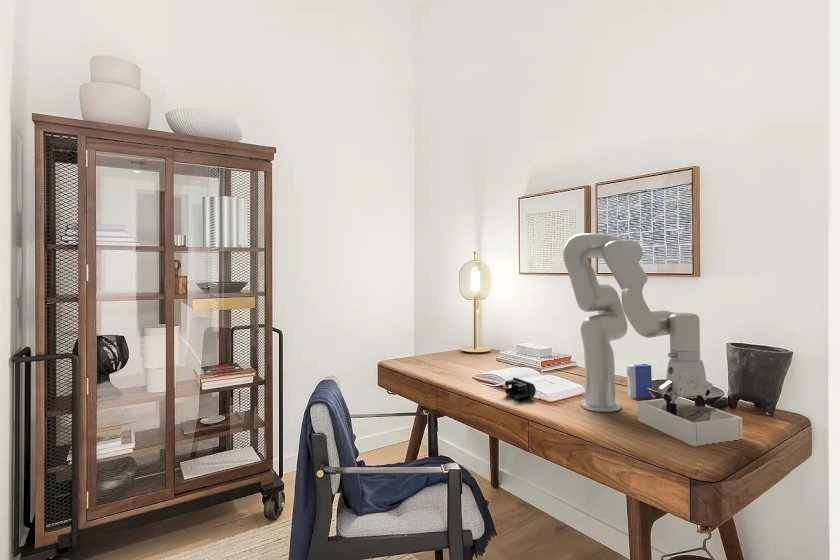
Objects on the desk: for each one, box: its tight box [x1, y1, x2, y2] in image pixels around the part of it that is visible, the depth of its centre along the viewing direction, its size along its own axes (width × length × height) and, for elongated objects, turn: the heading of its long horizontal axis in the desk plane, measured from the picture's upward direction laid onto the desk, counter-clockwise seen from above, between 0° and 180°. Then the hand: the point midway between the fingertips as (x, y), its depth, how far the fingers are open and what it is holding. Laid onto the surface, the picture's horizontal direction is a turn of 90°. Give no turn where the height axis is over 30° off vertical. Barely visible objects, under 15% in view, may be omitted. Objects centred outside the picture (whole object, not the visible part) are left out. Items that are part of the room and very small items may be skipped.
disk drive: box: [705, 396, 729, 409], centre depth 155 cm, size 10×3×15 cm
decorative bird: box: [661, 402, 717, 423], centre depth 131 cm, size 5×16×8 cm, turn 27°
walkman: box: [626, 363, 653, 399], centre depth 166 cm, size 8×3×12 cm, turn 90°
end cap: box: [504, 377, 537, 403], centre depth 170 cm, size 10×7×7 cm
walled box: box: [637, 397, 744, 447], centre depth 132 cm, size 22×16×6 cm
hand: (685, 414), depth 132 cm, fingers open, 9 cm apart
